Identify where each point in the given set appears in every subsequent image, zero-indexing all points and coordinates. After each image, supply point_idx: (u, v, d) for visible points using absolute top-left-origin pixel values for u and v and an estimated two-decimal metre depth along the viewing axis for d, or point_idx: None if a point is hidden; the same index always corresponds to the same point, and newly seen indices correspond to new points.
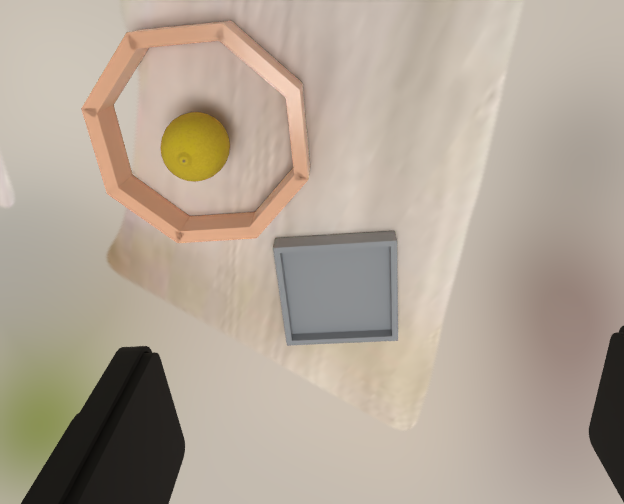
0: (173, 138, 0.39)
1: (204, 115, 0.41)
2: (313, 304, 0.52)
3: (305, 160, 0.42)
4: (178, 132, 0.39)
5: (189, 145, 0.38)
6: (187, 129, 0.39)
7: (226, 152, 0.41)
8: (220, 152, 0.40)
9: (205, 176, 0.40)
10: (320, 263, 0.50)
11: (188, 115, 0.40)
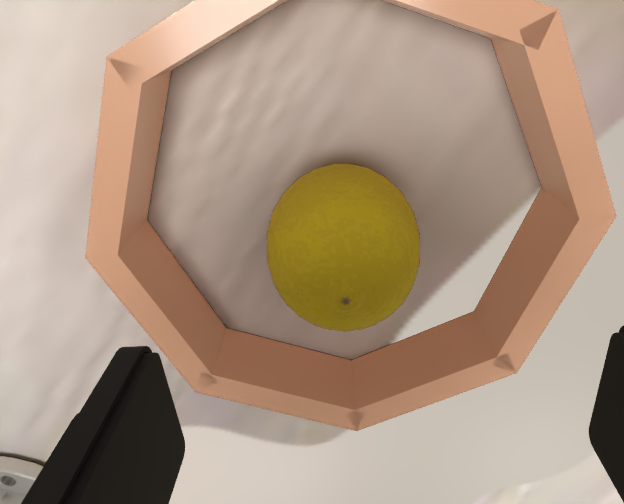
0: (352, 328, 0.16)
1: None
2: None
3: (103, 110, 0.17)
4: (336, 329, 0.17)
5: (320, 313, 0.15)
6: (315, 324, 0.17)
7: (275, 215, 0.17)
8: (274, 243, 0.16)
9: (332, 215, 0.15)
10: None
11: None
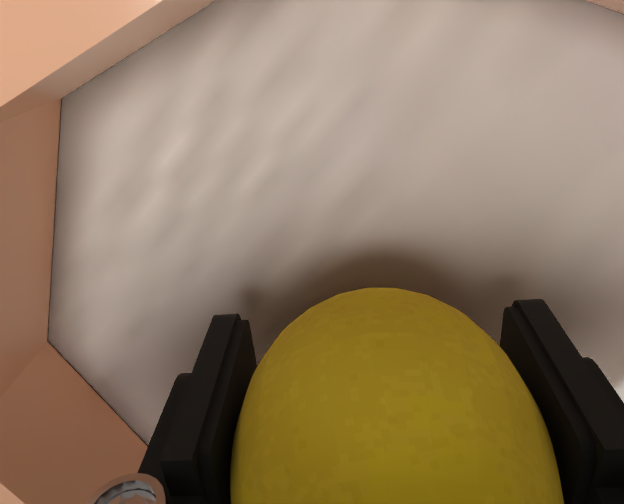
0: None
1: None
2: None
3: None
4: None
5: None
6: None
7: (247, 422, 0.08)
8: None
9: (380, 501, 0.06)
10: None
11: None
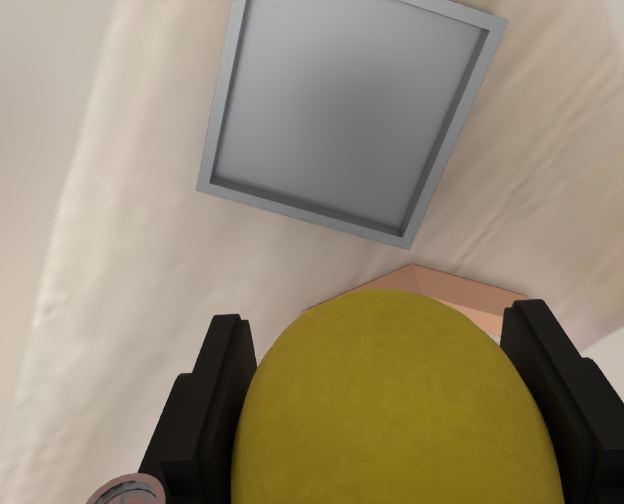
0: None
1: None
2: (400, 91, 0.24)
3: None
4: None
5: None
6: None
7: (247, 424, 0.08)
8: None
9: None
10: (347, 176, 0.27)
11: None
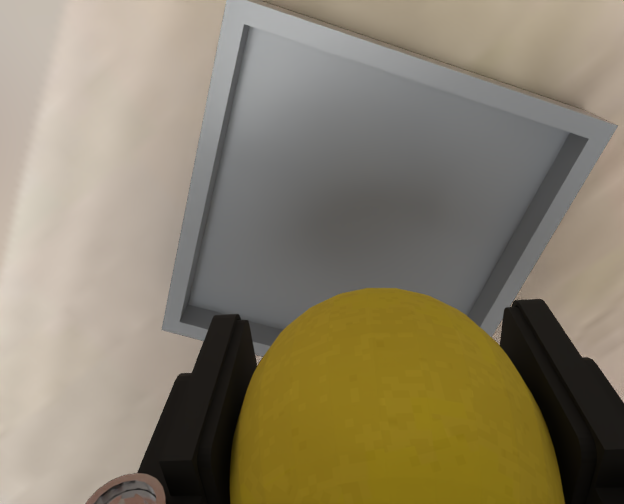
0: None
1: None
2: (448, 207, 0.17)
3: None
4: None
5: None
6: None
7: (247, 423, 0.08)
8: None
9: (380, 503, 0.06)
10: None
11: None
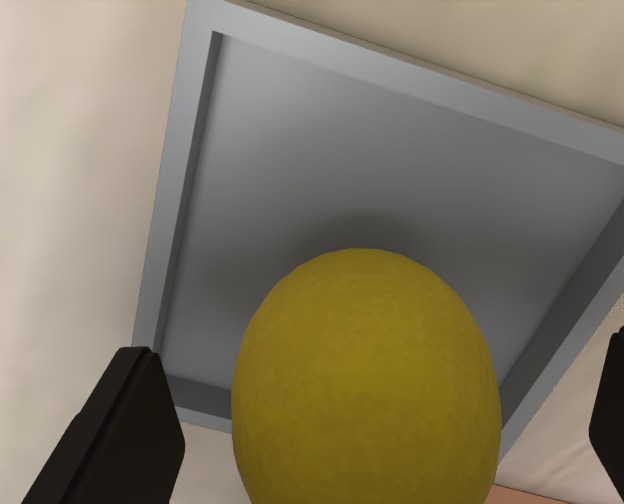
0: None
1: None
2: (480, 260, 0.14)
3: None
4: None
5: None
6: None
7: (246, 346, 0.10)
8: (238, 411, 0.09)
9: (344, 386, 0.08)
10: None
11: None
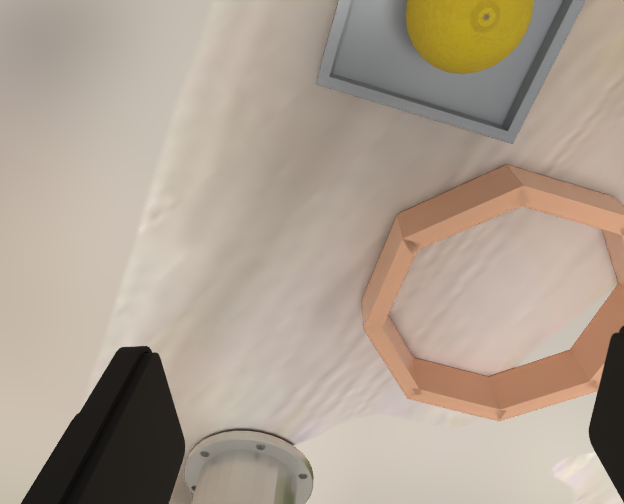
0: (480, 59, 0.21)
1: (421, 55, 0.24)
2: None
3: (394, 261, 0.32)
4: (466, 63, 0.22)
5: (461, 37, 0.20)
6: (449, 61, 0.22)
7: None
8: None
9: None
10: None
11: None
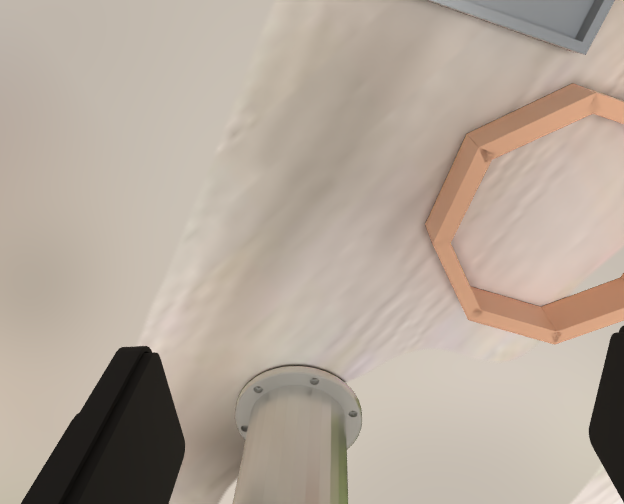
0: None
1: None
2: None
3: (468, 171, 0.34)
4: None
5: None
6: None
7: None
8: None
9: None
10: None
11: None
